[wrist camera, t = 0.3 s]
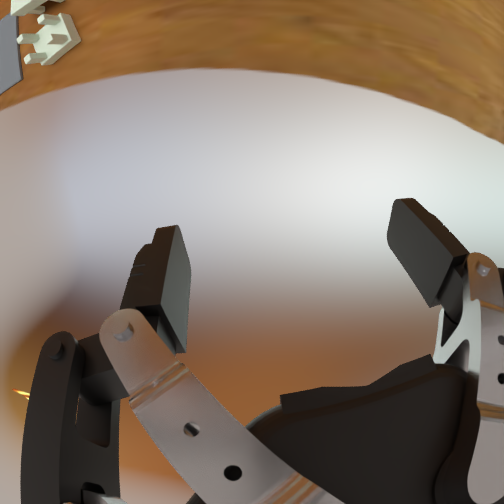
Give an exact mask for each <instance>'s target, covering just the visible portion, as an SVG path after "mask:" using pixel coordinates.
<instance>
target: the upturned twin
mask: <svg viewBox="0 0 504 504" xmlns="http://www.w3.org/2000/svg"><path fill="white" fill-rule="evenodd" d="M37 20H38V23H39V24H44V25H45V26H44V27H43V28H42V29H41V30H40V31H39V32H37V33H36V34H21V35H20V36H19V37H18V38H17V42H18V44H29V43H33V45H34V48H35V50H36V53H30V54H28V55H27V56H26V57H25V58H24V61H25V63H26V64H31V63H39V62H40V63H41V65H49V64H53V63H54V62H55V61H57V60H58V59H59V58H60V57H61V56H63V55H64V54H65V53H66V52H68V51H69V50H70V49H71V48H73V47H74V46H75V45H77V44H78V43H79V42H81V39H80V37H79V34H78V32H77V30H76V28H75V25H74V23H73V20H72V18H71V16H70V15H68V14H63V13H60V14H58V15H57V16H55V15H48V14H42V15H41V16H40V17H39V18H38V19H37Z"/></svg>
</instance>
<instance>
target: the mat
mask: <svg viewBox="0 0 504 504" xmlns="http://www.w3.org/2000/svg"><path fill="white" fill-rule="evenodd" d="M18 37H19V30H18V16H11V12H10V13H9V14H8V15H6V16H5V17H4V18H3V19H1V20H0V95H1V94H2V93H3V92H5V91H6V90H8V89H9V88H10V87H12V86H13V85H15V84H16V83H18V82H19V81H21V80H22V79H23V74H22V67H21V58H20V47H19V44H18V42H17V38H18Z"/></svg>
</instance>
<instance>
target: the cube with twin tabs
mask: <svg viewBox="0 0 504 504" xmlns="http://www.w3.org/2000/svg"><path fill="white" fill-rule="evenodd" d="M46 1H48V0H11V16H24V15H26V14H27V13H30V14H42V13H43V12H45V6H39V5H41V4H43V3H44V2H46ZM51 1H55V2H59V3H61V2H63V1H65V0H51Z"/></svg>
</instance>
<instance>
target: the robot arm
mask: <svg viewBox="0 0 504 504" xmlns="http://www.w3.org/2000/svg"><path fill="white" fill-rule="evenodd" d="M387 241H388V245H389V247H390V249H391V250H392V251H393V253H394V254H395V256H396V257H397V259H398V260H399V261H400V263H401V264H402V266H403V267H404V269H405V270H406V272H407V273H408V275H409V276H410V278H411V279H412V281H413V282H414V284H415V285H416V287H417V288H418V290H419V291H420V293H421V294H422V296H423V298H424V299H425V301H426V303H427V304H428V306H429V307H430V308H431V307H434V306H436V305H440V304H441V305H442V306H443V307H442V309H441V311H440V314H439V323H438V332H437V340H436V346H435V352H434V356H433V359H432V357H431V355H430V354H429V355H426V356H424V357H421V358H418V359H416V360H413V361H410V362H407V363H405V364H402V365H399V366H398V367H397V368H395V369H394V370H392V371H391V372H389V373H387V374H386V375H384V376H383V377H381V378H380V379H378V380H377V381H375V382H373V383H372V384H370V385H367V386H359V387H320V388H315V389H310V390H305V391H300V392H294V393H289V394H283V395H280V405H278V406H275V407H273V408H271V409H269V410H267V411H265V412H263V413H262V414H260V415H259V416H257V417H256V418H254V419H253V420H252V421H251V422H250V423H248V424H247V425H246V426H245V427H244V426H243V425H242V424H240V423H239V422H238V421H237V420H236V419H235V418H234V417H233V416H232V415H231V414H230V413H229V412H228V411H227V410H226V409H225V408H224V407H223V406H222V405H221V404H220V403H219V402H218V401H217V400H216V399H215V397H214V396H213V395H212V394H211V393H210V392H209V391H208V390H207V389H206V388H205V387H204V386H203V385H202V384H201V382H200V381H199V380H198V379H197V378H196V377H195V376H194V375H193V374H192V372H190V370H189V369H188V368H187V367H186V366H185V365H184V364H183V363H182V364H181V363H180V362H179V361H178V360H177V358H176V357H175V354H176V353H186V344H187V325H188V310H189V295H190V283H191V267H190V262H189V257H188V254H187V251H186V248H185V244H184V241H183V237H182V234H181V231H180V228H179V226H178V225H174V226H168V227H162V228H157V229H156V231H155V235H154V238H153V241H152V244H146V245H144V246H143V247H142V249H141V250H140V251H139V252H138V254H137V255H136V257H135V260H134V264H133V268H132V269H131V273H130V277H129V279H128V282H127V285H126V289H125V292H124V296H123V299H122V303H121V306H120V310H119V311H117V312H115V313H113V314H112V315H110V316H109V317H108V318H107V319H106V320H105V321H104V323H103V324H102V326H101V329H100V333H98V334H95V335H93V336H90V337H87V338H84V339H81V340H79V341H77V340H76V339H75V338H74V337H73V336H72V335H71V334H70V333H68V332H65V331H63V332H58V333H55V334H53V335H52V336H51V337H49V338H48V339H47V341H46V342H45V343H44V345H43V347H42V350H41V352H40V355H39V359H38V363H37V366H36V370H35V374H34V379H33V383H32V387H31V392H30V397H29V402H28V407H27V413H26V420H25V427H24V435H23V444H22V456H21V504H127V503H126V502H125V501H123V500H122V499H121V498H120V483H119V414H120V399H122V398H126V397H129V396H130V397H131V399H130V400H129V404H130V406H131V408H132V410H133V411H134V413H135V415H136V416H137V418H138V419H139V421H140V422H141V424H142V425H143V427H144V428H145V430H146V431H147V433H148V434H149V436H150V437H151V438H152V440H153V441H154V443H155V444H156V445H157V447H158V448H159V449H160V451H161V452H162V453H163V455H164V456H165V457H166V458H167V460H168V461H169V462H170V463H171V464H172V466H173V467H174V468H175V470H176V471H177V472H178V473H179V474H180V475H181V477H183V479H184V480H185V481H186V482H187V483H188V484H189V486H190V487H191V488H192V489H193V490H194V491H195V493H194V495H193V496H192V497H191V498H190V500H189V501H188V502H187V503H186V504H504V268H497V266H496V265H495V263H494V262H493V261H492V260H491V259H490V258H489V257H487V256H485V255H483V254H481V253H476V252H474V253H471V254H470V253H469V252H468V250H467V249H466V248H465V247H464V246H463V245H462V244H461V243H460V241H458V239H457V238H456V237H455V236H454V235H453V234H452V233H451V232H449V230H448V229H447V228H446V227H445V226H444V225H443V224H442V222H441V221H440V220H438V218H436V216H434V215H433V214H431V213H429V212H428V211H427V210H426V209H425V208H424V207H423V206H422V205H421V204H420V203H418V202H417V201H416V200H415V199H413V198H405V199H396V200H395V201H394V203H393V207H392V212H391V217H390V222H389V226H388V231H387ZM78 398H79V402H78ZM77 405H78V410H77ZM76 414H77V420H76Z"/></svg>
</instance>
